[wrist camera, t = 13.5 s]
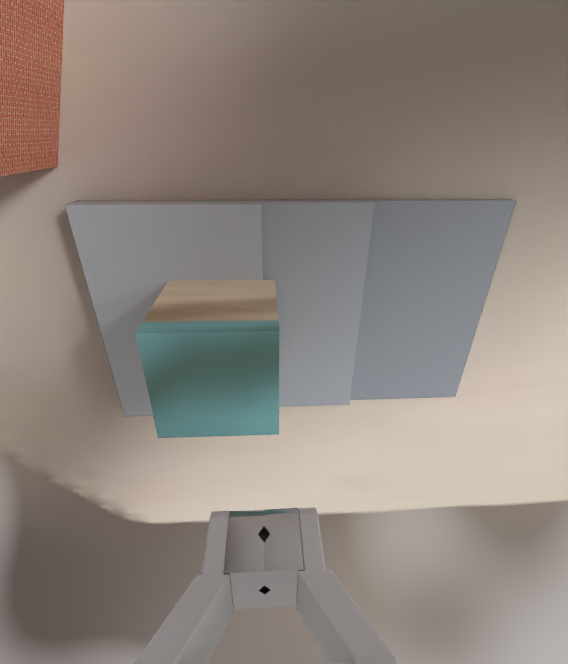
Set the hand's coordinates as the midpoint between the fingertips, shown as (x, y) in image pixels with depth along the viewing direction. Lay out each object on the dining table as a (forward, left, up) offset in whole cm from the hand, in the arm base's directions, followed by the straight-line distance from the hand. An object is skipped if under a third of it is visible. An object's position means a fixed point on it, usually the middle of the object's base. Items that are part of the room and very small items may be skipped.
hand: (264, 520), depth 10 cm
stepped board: (0, +2, -14) cm, 14 cm away
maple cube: (+1, -2, -7) cm, 7 cm away
